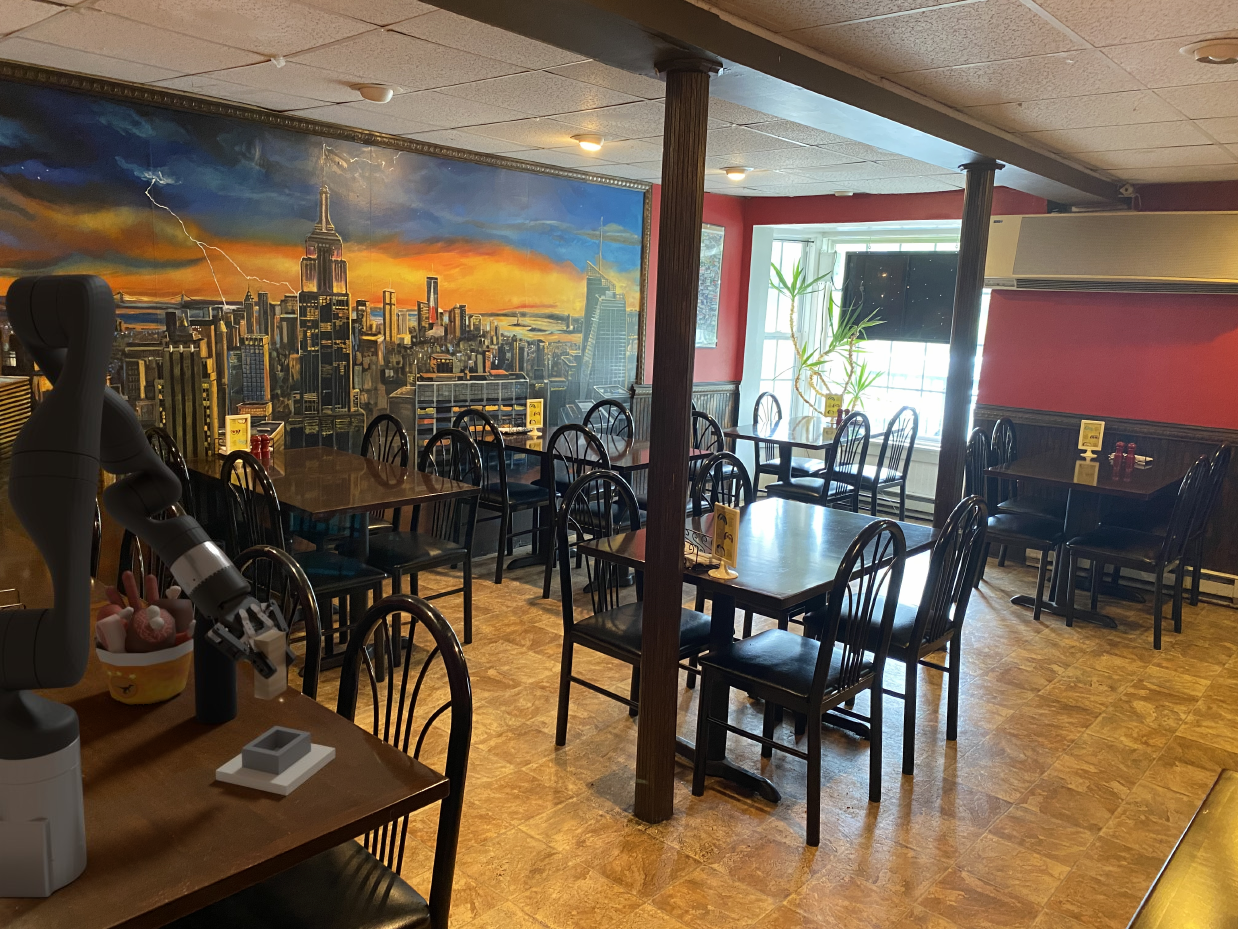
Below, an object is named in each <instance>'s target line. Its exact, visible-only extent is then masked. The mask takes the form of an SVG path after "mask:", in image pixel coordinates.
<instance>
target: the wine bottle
mask: <svg viewBox="0 0 1238 929" xmlns="http://www.w3.org/2000/svg"><path fill="white" fill-rule="evenodd" d="M211 540H212V542H214V544H215V545H216V546H217V547H219V548H220V549H221V550H222V551H223V552H224V553H225V554H226V542H225V540H221V539H211ZM195 621H196V622H195V627H194V634H193V673H194V674H193V675H194V676H193V677H194V679H193V680H194V705H195V706H194V708H195V710H194V711H195V720H196V721H197V722H198V723H201V724H205V725H216V724H217V725H218V724H222V723H226V722H229V721H232V719H235V718H236V717H237V715H238V683H237V682H238V679H237V678H238V675H237V673H238V672H237V671H238V670H237V662H235V661H233V660H232V659H231V658H229V657H228V656H227V655H225V654H224V653H223V652H221V651H220V650H219V649H218V648H216V647H215V646H214V645H212V644H211V643H210V642H208V641H207V640H206V639H205V635H206V634H207V633H208V632H209V631H210V630H211V629H212V628H213V627H214V626H215V625H214V622H213V619H207V618H205V617H204V615H203V614H202V613H201V612H200V610H199V609H198V613H197V617H196V619H195ZM230 647H231V648H232V649H233V650H234V651H236V652H237V649H236V648H234V647H233V646H230Z"/></svg>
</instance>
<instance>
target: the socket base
mask: <svg viewBox="0 0 1238 929" xmlns="http://www.w3.org/2000/svg"><path fill="white" fill-rule="evenodd" d="M335 758H336V748H335V747H331V746H326V745H322V744H315V743H312V732H309V731H304V730H299V729H295V728H288V727H284V726H279V725H274V726H273V727H271V728H270V729H268V730H267V731H265V732H264V733H262V734H261V735H259V736H258V737H257V738H255V739H254V740H252V741H250V742H249V743H247V744H246V745H245V746H243V747H241V753H239V754H238V755H236V756H235V757H234V758H232V759H230V760H229V761H228V762H226V763H225V764H223V765H221V766H220V767H219V768H216V770H215V780H216V781H219V782H224V783H228V784H234V785H238V786H242V787H247V788H251V789H255V790H260V791H263V792H264V791H265V792H269V793H273V794H277V795H282V796H286V797H287V796H289V795H290V794H291V793H293V791H295V790H296V789H297V788H299V787H300V786H301V785H302V784H304V783H305V782H306V781H307V780H309V779H310V778H312V776H314V775H315V774H316V773H318V772H319V771H320V770H321V769H323V768H324V767H325V766H326V765H328V764H329V763H330V762H331V761H333V760H334V759H335Z"/></svg>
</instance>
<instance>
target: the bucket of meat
mask: <svg viewBox="0 0 1238 929" xmlns="http://www.w3.org/2000/svg"><path fill="white" fill-rule="evenodd" d="M121 579H122V583H123V587H124V590H125V593H126V597H127V598H126V599H127V601H128V604H129V606H126V603H125V602H124V599H123V597H122V595H121V593H120V591H119V589H118V588H117V587H116V586H114V585H109V586H107V587H106V588H105V591H104V594H105V596H106V598H107V600H108V602H109V603H106V604H103V605H102V606H101V607H100V609H99V610H98V612H97V616H96V622H95V623H94V626H95V633H96V634H95V635H96V636H95V637H94V638H93V640H94V646H95V650H96V654H97V656H98V658H99V662H100V666H101V668H102V672H103V675H104V678H105V681H106V684H107V686H108V690H109V693H110V696H111V698H112V699H114V700H116V702H119V701H120V703H122V704H126V705H129V706H130V705H131V706H135V705H134V704H137V705H138V704H143V705H144V704H148V705H153V704H157V703H161V702H165V701H168V700H169V699H172V698H173V697H175V696H177V695H179V694H180V693H181V692H182V691H184V689H185V688H186V686H187V685H186V684H187V681H188V676H189V671H190V666H191V661H192V658H193V657H192V656H193V653H194V650H193V634H194V627H195V622H196V619H195V617H194V616H195V615H194V610H193V604H192V600H191V599H187V598H185V599H182V598H178V597H179V595H180V593H181V591H182V588H181V586H177V585H174V586H173V585H172V586H170V587H169V588H168V589H166V590H165V595H166V596H167V597H168V598H160V595H159V588H158V580H157V579H158V578H157V577H156V576H155V575H153V574H148V575H146V576H145V578H144V587H145V594H146V601H147V607H144V608H143V605H142V602H141V598H140V594H139V591H138V588H137V585H136V580H135V576H134V573H133V572H131V571H130V570H126V571H123V572H122V576H121ZM160 701H161V702H160ZM156 702H157V703H156ZM152 703H153V704H152ZM137 705H136V706H137ZM143 705H142V706H143ZM138 706H139V705H138Z"/></svg>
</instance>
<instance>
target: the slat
mask: <svg viewBox="0 0 1238 929" xmlns="http://www.w3.org/2000/svg"><path fill="white" fill-rule="evenodd" d="M286 638H287V633H286V632H280V631H274V630H270V631H268V632H266V633H264V634H262V635H260V636H258V637H256V638H255V639H254V640H255V641H256V643H257V644H258V645H259V647H260V651H259V652H261V651H263V652H264V654H265V655H266V656H267V657H268V659H270V660H271V662H272V663H273V664H274V665H275V667H276V668H277V672H276V673H275V674H274V675H273V676H272V677H271V678H269V679H265V678H264V677H262V676H261V675H260V674H259V673H258V672H257V670H256V669H255V668H254V667H253V672H254V673H253V674H254V677H253V678H254V680H253V681H254V698H256V699H263V700H268V701H270V700H272V699H273V698H275V697H278V695H281V693H283V692H285V691H286V690H287V668H286V644H287V639H286Z"/></svg>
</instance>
